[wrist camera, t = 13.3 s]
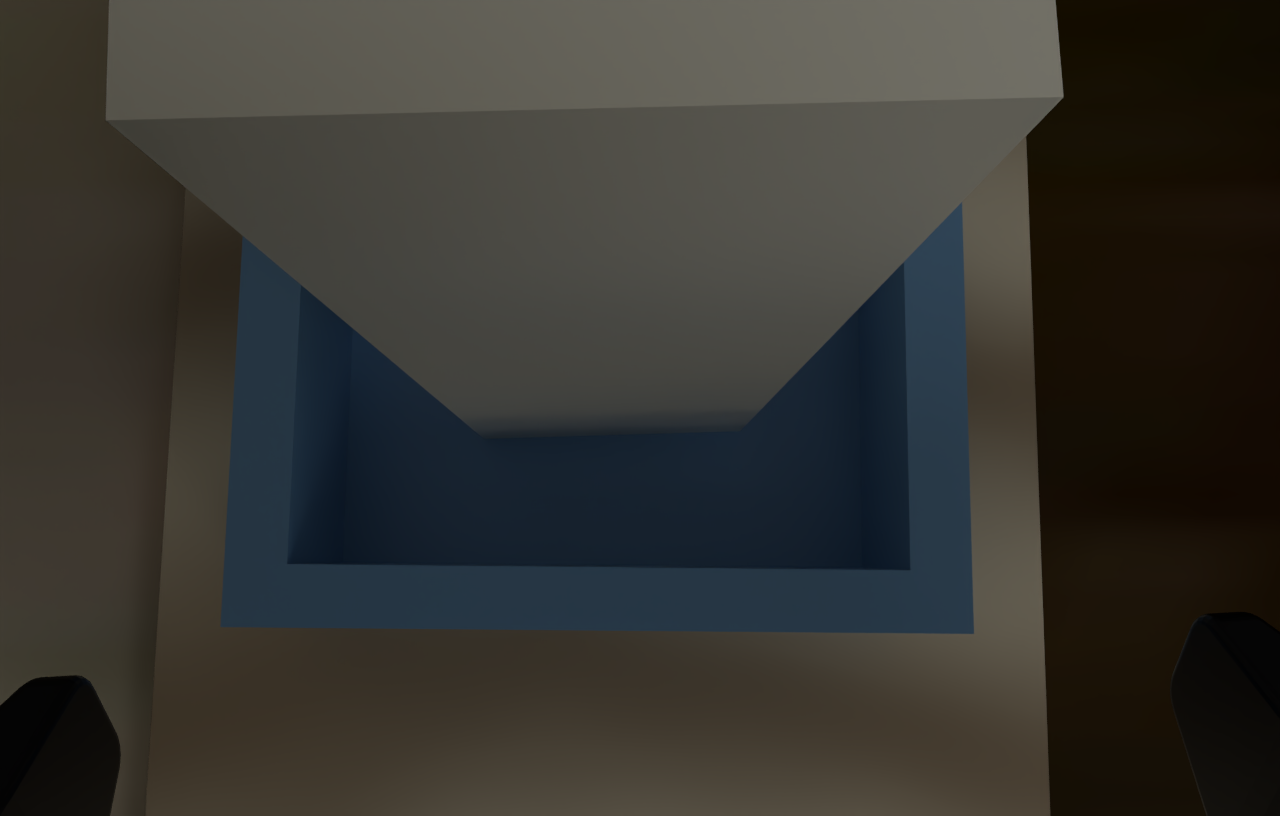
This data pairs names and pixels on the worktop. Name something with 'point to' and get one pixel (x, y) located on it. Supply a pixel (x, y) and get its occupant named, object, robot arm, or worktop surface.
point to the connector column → (585, 176)
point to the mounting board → (608, 643)
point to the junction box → (605, 488)
